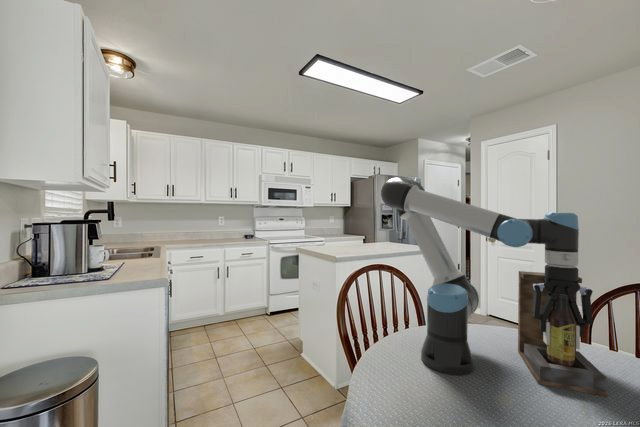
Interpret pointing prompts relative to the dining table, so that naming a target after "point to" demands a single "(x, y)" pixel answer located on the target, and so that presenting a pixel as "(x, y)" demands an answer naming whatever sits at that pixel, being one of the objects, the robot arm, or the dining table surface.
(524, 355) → the stand
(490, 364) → the dining table surface
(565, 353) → the sauce bottle
